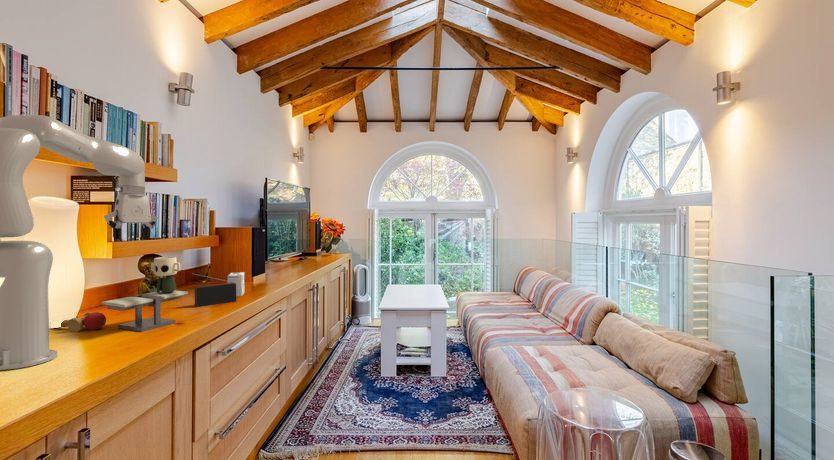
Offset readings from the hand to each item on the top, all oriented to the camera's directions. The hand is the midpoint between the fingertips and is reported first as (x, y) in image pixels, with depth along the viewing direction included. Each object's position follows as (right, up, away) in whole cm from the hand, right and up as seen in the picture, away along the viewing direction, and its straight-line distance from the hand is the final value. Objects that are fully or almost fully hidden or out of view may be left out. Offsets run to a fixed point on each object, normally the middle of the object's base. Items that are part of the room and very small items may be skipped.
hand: (132, 239), depth 141 cm
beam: (+8, -23, -3) cm, 25 cm away
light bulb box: (+12, -30, +56) cm, 64 cm away
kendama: (-13, -31, -8) cm, 34 cm away
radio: (+12, -30, +33) cm, 46 cm away
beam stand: (+8, -30, -3) cm, 31 cm away
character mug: (+10, -20, +3) cm, 23 cm away
